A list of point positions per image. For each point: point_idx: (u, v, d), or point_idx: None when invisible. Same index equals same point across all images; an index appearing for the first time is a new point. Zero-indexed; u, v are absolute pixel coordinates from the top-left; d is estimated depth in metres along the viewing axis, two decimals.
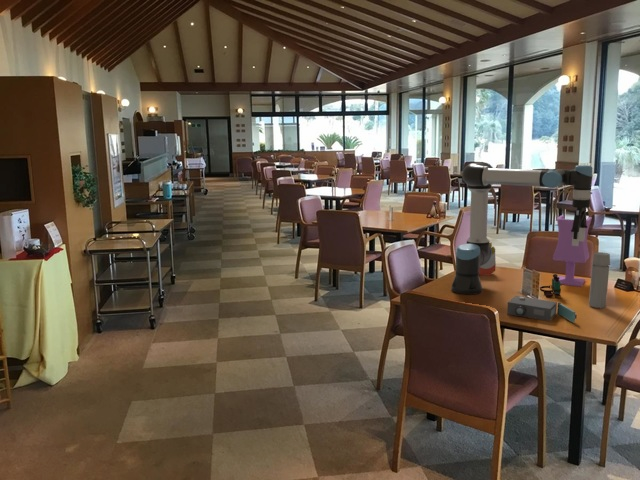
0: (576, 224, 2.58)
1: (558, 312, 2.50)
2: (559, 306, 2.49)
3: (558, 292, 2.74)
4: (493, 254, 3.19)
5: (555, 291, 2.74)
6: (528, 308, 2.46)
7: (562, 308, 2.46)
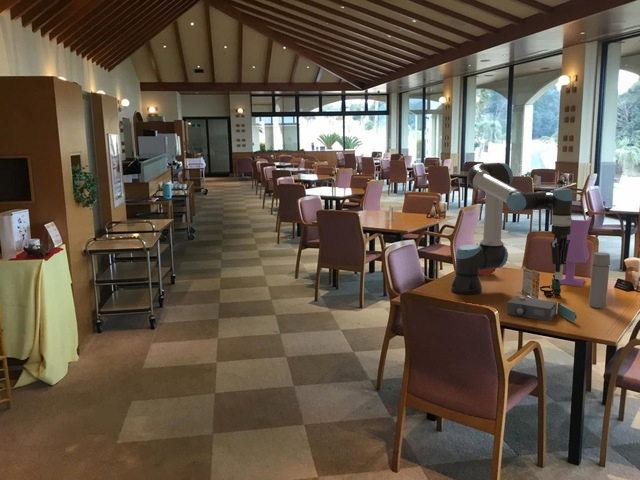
0: (555, 257, 2.40)
1: (558, 312, 2.50)
2: (559, 306, 2.49)
3: (558, 292, 2.74)
4: None
5: (555, 291, 2.74)
6: (528, 308, 2.46)
7: (562, 308, 2.46)
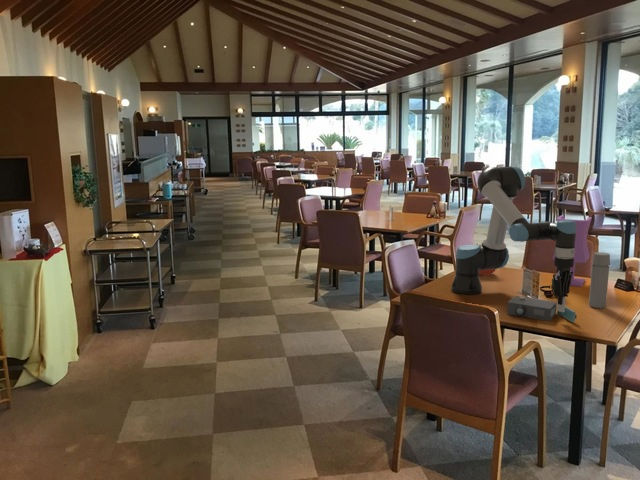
0: (557, 290, 2.36)
1: (558, 312, 2.50)
2: None
3: None
4: None
5: None
6: (528, 308, 2.46)
7: None
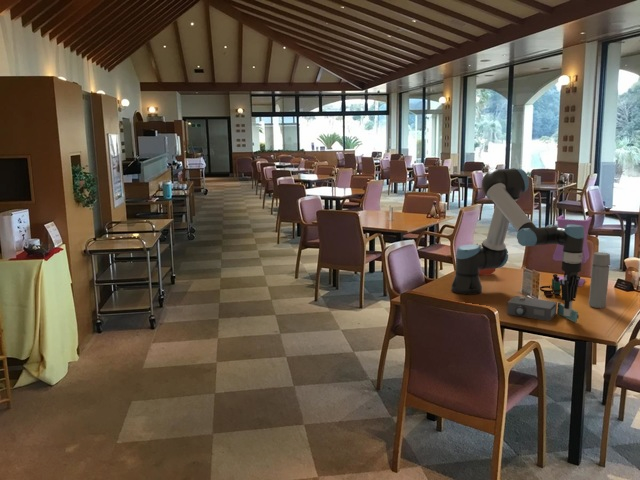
0: (564, 294, 2.36)
1: (558, 312, 2.50)
2: (559, 306, 2.49)
3: (558, 292, 2.74)
4: None
5: (555, 291, 2.74)
6: (528, 308, 2.46)
7: (563, 308, 2.46)
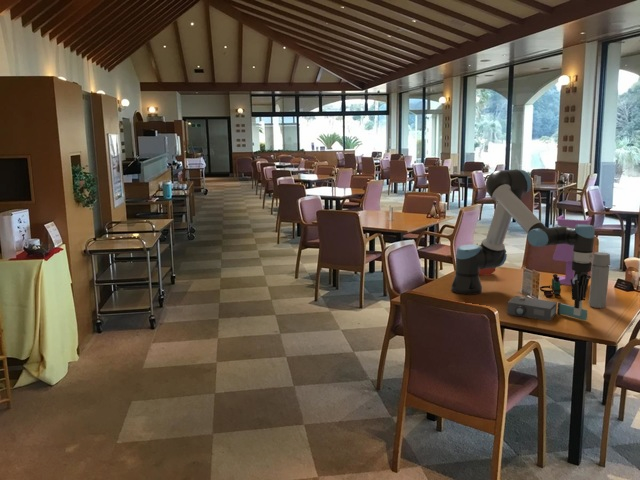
0: (575, 294, 2.38)
1: (559, 312, 2.50)
2: (561, 306, 2.49)
3: (558, 292, 2.74)
4: None
5: (555, 291, 2.74)
6: (528, 308, 2.46)
7: (566, 308, 2.47)
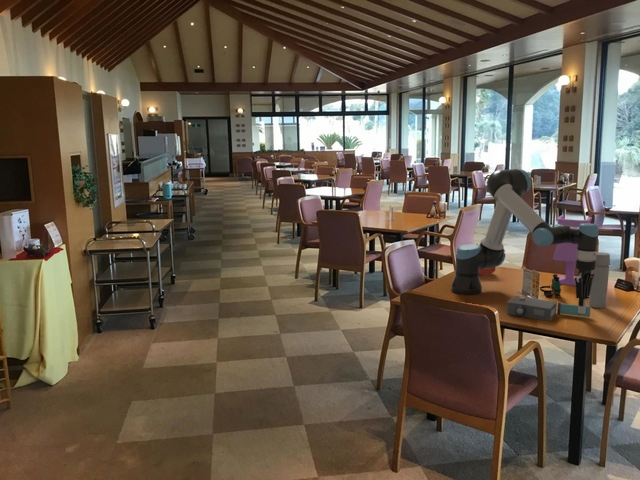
0: (579, 292, 2.40)
1: (560, 312, 2.50)
2: (562, 306, 2.49)
3: (558, 292, 2.74)
4: None
5: (555, 291, 2.74)
6: (528, 308, 2.46)
7: (568, 307, 2.48)
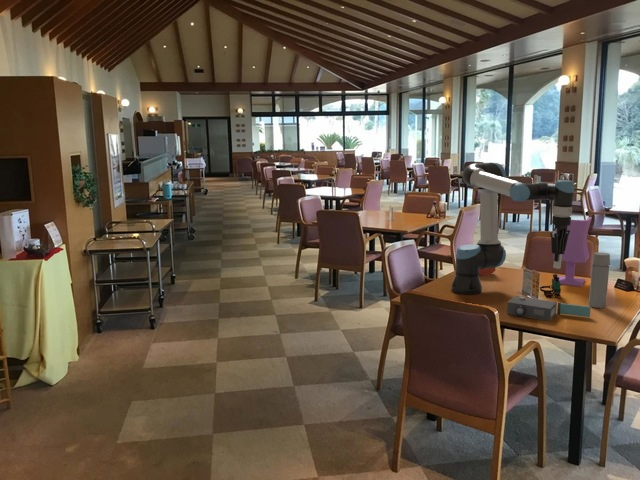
0: (554, 247, 2.46)
1: (560, 312, 2.50)
2: (562, 306, 2.49)
3: (558, 292, 2.74)
4: None
5: (555, 291, 2.74)
6: (528, 308, 2.46)
7: (568, 307, 2.48)
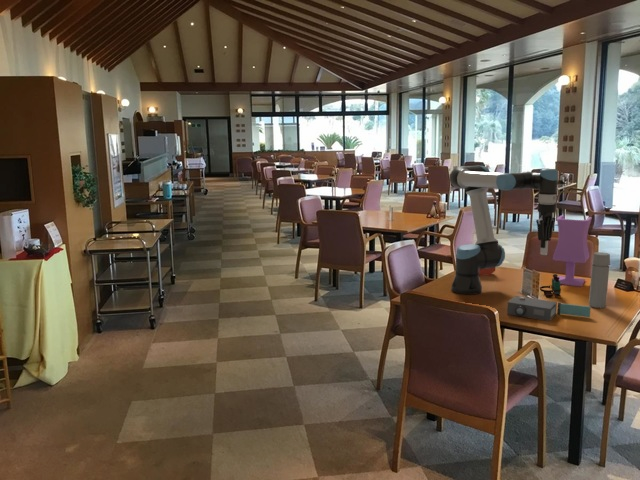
0: (540, 234, 2.54)
1: (560, 312, 2.50)
2: (562, 306, 2.49)
3: (558, 292, 2.74)
4: None
5: (555, 291, 2.74)
6: (528, 308, 2.46)
7: (568, 307, 2.48)
